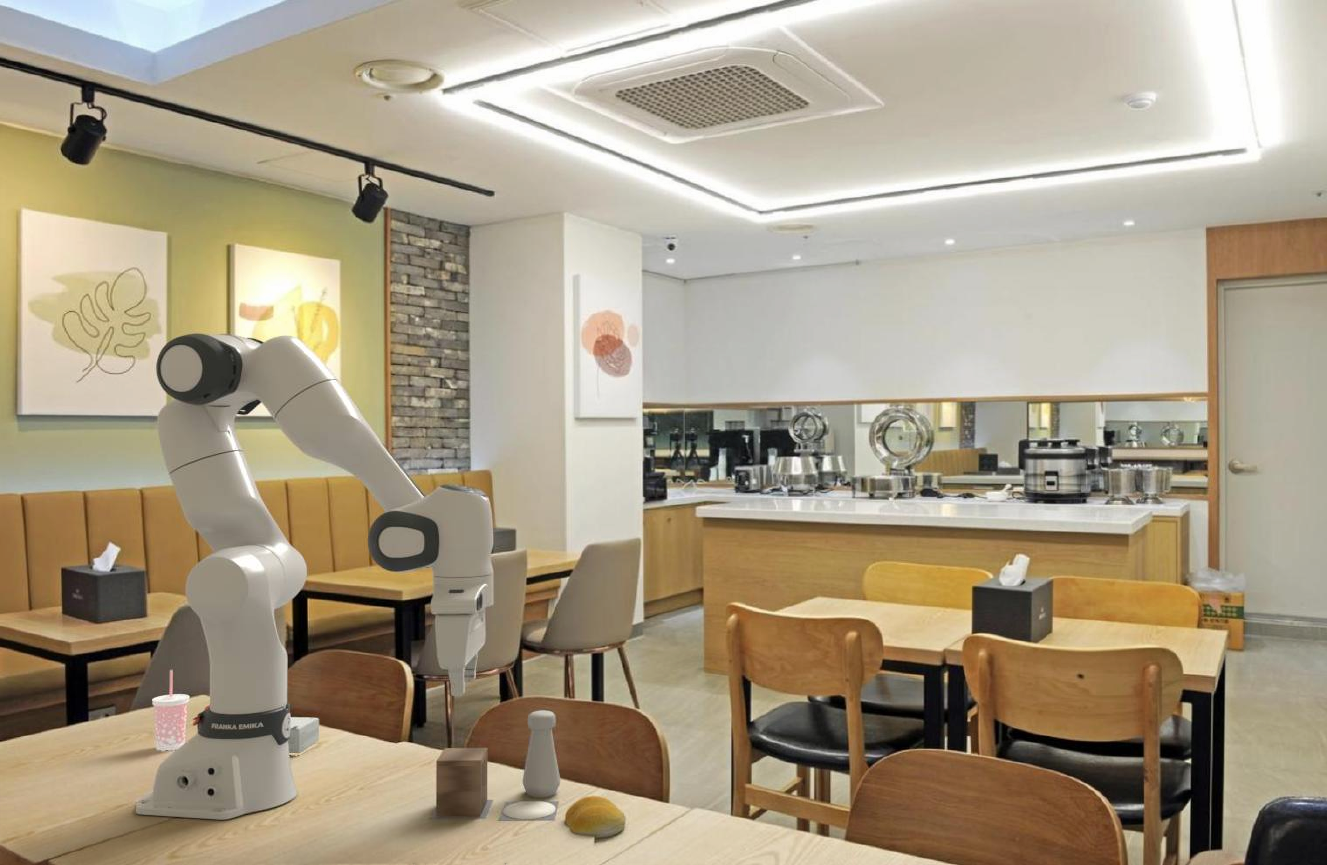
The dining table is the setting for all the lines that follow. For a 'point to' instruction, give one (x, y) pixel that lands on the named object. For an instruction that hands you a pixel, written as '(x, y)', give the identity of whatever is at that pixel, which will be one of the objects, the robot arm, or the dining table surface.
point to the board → (466, 816)
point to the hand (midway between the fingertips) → (463, 687)
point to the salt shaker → (541, 757)
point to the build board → (529, 811)
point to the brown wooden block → (461, 782)
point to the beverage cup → (170, 719)
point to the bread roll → (595, 817)
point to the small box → (303, 733)
